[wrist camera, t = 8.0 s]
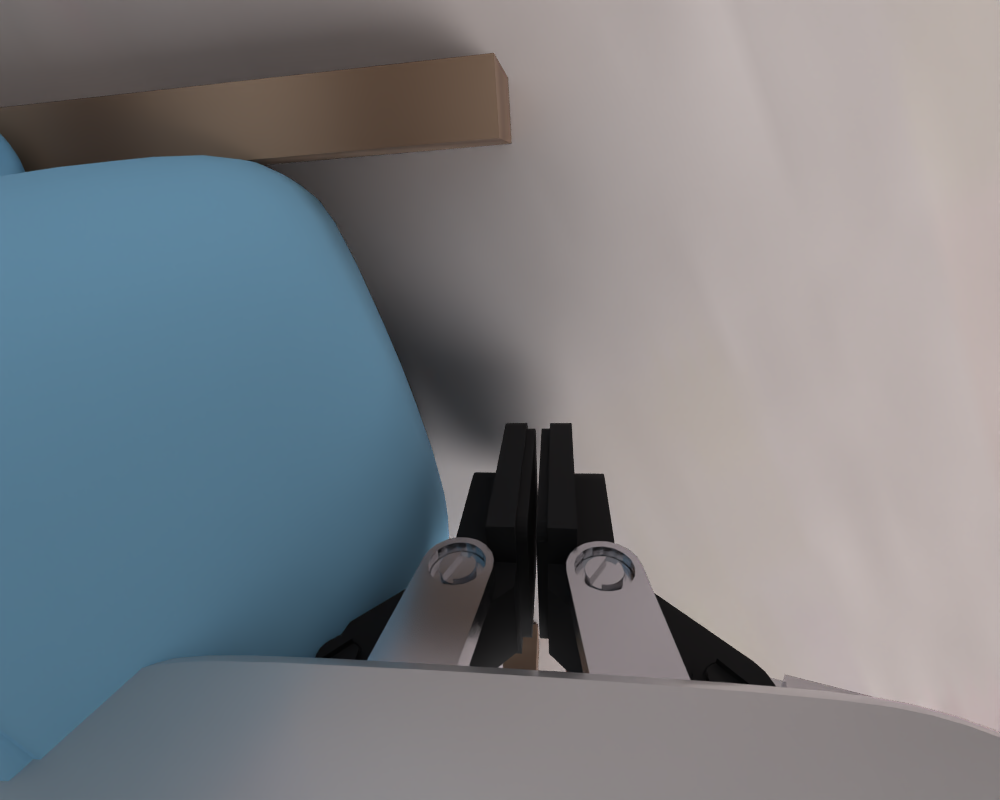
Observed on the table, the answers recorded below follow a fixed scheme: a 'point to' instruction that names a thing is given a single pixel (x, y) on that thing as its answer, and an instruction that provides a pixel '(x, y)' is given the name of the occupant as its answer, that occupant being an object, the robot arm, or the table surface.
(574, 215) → the table surface
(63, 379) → the teapot
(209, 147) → the guide track
